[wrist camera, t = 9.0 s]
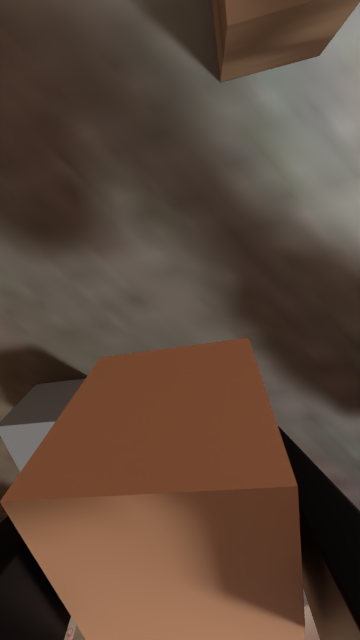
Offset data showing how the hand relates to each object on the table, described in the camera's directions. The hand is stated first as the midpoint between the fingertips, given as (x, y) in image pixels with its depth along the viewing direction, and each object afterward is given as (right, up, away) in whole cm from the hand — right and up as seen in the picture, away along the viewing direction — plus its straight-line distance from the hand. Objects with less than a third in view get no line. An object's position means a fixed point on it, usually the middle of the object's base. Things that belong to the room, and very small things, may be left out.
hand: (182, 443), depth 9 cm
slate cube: (-9, -4, +15) cm, 18 cm away
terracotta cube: (0, +1, +1) cm, 2 cm away
